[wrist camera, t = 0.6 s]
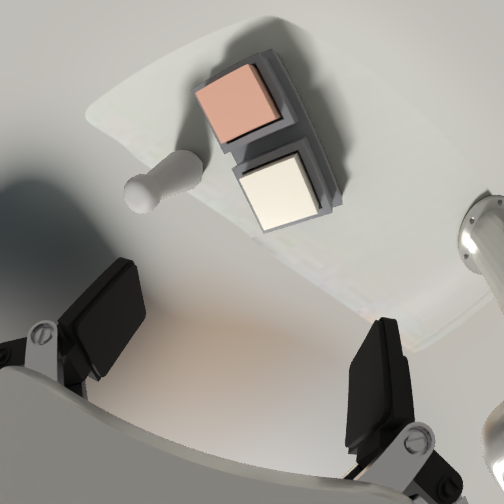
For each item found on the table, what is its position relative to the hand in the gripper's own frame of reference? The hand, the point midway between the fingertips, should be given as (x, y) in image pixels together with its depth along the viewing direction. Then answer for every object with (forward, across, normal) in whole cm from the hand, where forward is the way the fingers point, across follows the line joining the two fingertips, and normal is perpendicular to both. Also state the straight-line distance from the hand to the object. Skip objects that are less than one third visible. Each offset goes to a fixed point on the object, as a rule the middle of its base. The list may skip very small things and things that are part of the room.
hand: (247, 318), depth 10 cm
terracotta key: (+22, +7, -6) cm, 24 cm away
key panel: (+28, +4, -2) cm, 28 cm away
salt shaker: (+28, +15, +4) cm, 33 cm away
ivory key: (+22, +1, +2) cm, 22 cm away
